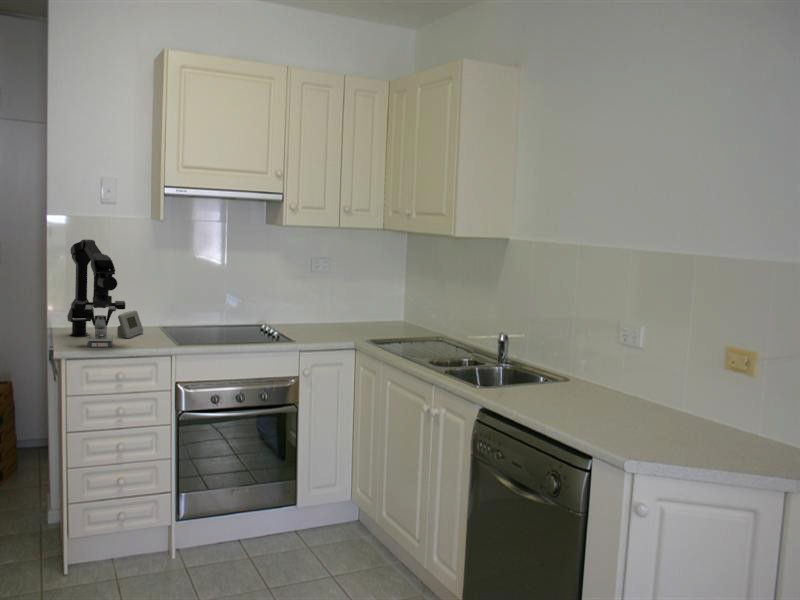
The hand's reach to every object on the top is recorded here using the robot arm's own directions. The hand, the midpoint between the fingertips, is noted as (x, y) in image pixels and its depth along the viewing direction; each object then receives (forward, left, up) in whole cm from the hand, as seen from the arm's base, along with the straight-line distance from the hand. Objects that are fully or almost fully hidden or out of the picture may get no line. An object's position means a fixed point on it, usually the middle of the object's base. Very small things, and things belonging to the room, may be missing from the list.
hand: (100, 325), depth 301 cm
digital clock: (-25, +12, -9) cm, 29 cm away
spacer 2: (-5, 0, -5) cm, 7 cm away
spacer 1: (0, 0, -1) cm, 1 cm away
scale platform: (-3, 0, -6) cm, 7 cm away
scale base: (-3, 0, -8) cm, 9 cm away
